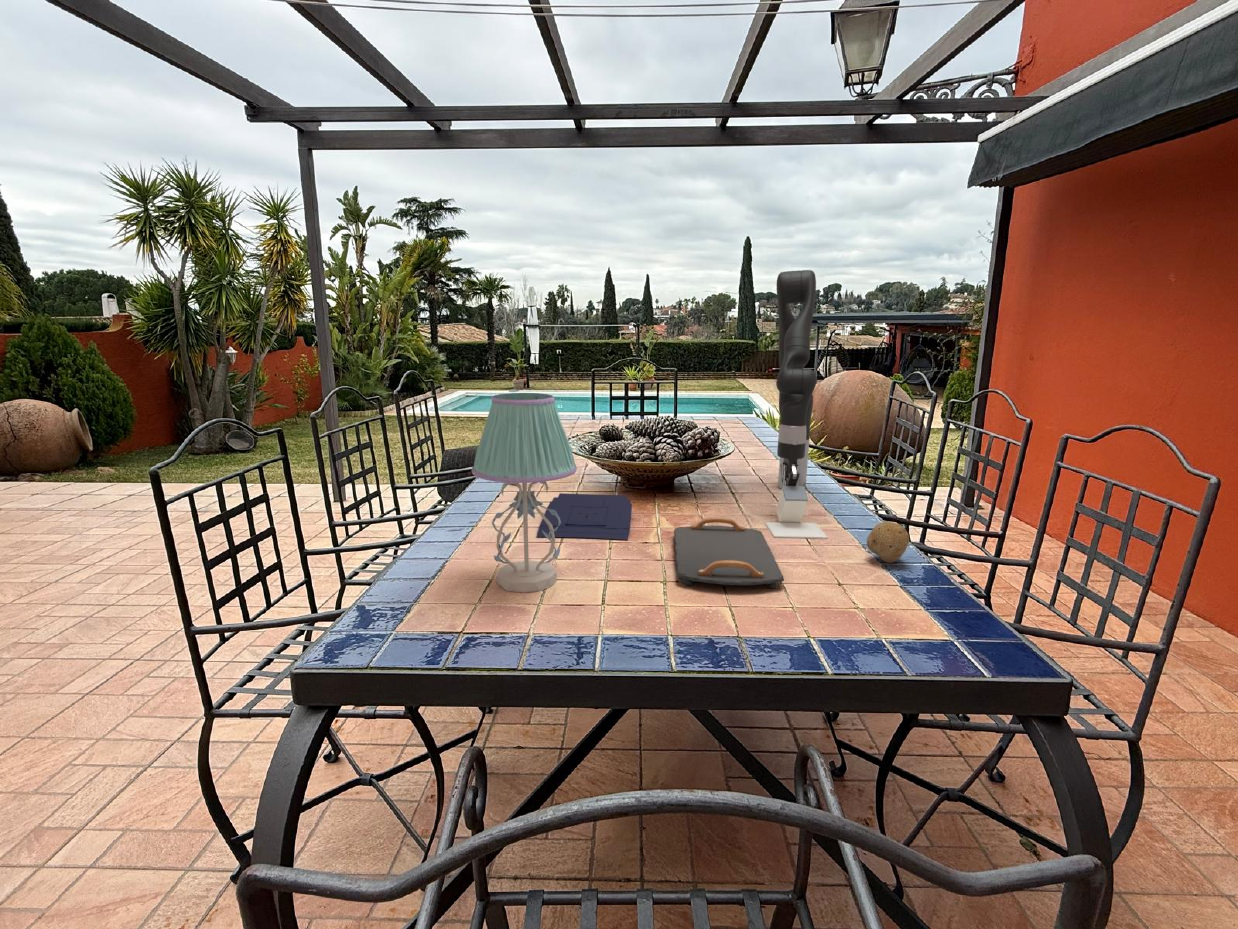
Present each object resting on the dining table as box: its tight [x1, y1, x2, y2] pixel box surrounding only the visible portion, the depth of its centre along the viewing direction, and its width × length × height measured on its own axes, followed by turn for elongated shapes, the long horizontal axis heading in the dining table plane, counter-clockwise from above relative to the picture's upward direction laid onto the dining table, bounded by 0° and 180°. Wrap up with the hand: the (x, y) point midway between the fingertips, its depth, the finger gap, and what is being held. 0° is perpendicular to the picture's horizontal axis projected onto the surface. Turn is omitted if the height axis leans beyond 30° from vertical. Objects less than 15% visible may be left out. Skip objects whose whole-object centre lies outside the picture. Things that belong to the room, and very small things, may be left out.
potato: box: [866, 520, 910, 564], centre depth 152 cm, size 9×9×10 cm
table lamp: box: [471, 392, 578, 594], centre depth 135 cm, size 22×22×40 cm
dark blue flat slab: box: [536, 492, 633, 541], centre depth 180 cm, size 24×30×4 cm
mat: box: [764, 521, 829, 540], centre depth 174 cm, size 12×14×1 cm
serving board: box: [673, 516, 785, 591], centre depth 152 cm, size 39×23×6 cm, turn 177°
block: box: [776, 486, 809, 523], centre depth 179 cm, size 5×6×10 cm
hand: (787, 500), depth 183 cm, fingers closed
